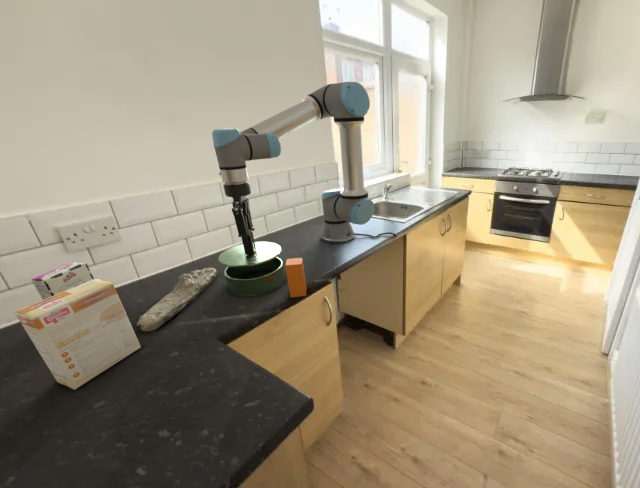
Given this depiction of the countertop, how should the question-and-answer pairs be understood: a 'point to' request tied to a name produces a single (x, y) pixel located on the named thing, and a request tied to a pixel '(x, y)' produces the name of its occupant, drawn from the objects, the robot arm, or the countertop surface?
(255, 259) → the tin lid
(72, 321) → the coffeecake box
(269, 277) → the tin
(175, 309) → the elongated rock
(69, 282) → the candy bar box
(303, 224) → the countertop surface
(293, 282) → the snack box
